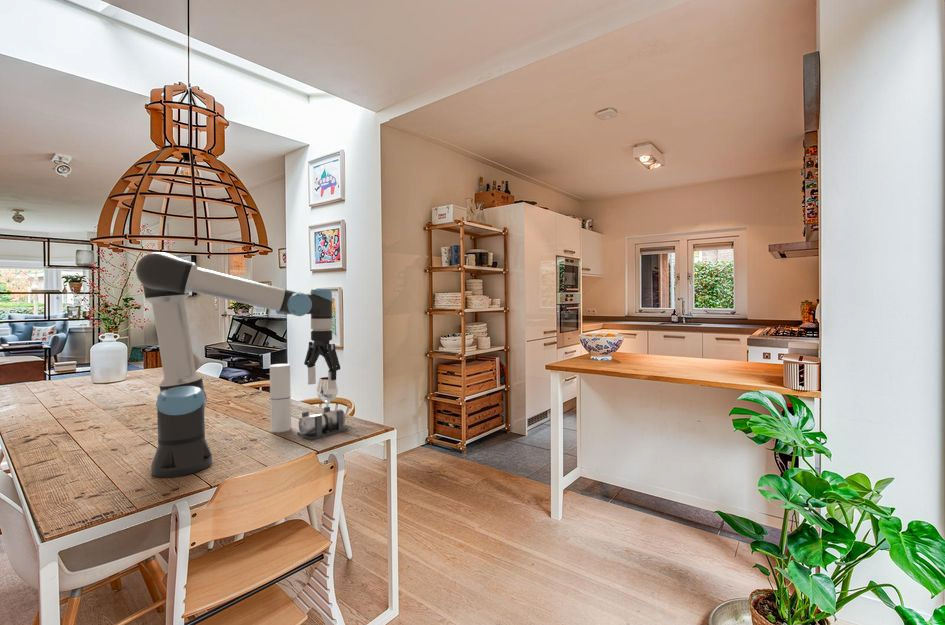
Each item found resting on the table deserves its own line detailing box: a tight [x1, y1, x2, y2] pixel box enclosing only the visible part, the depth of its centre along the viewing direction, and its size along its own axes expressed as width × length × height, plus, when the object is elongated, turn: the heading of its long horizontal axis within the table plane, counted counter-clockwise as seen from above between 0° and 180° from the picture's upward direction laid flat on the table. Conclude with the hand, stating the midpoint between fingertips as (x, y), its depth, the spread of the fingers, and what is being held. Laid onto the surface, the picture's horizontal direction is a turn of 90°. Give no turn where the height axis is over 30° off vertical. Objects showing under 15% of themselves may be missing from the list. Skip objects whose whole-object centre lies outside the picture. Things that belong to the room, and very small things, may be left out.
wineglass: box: [316, 376, 338, 407], centre depth 176 cm, size 8×8×18 cm
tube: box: [298, 408, 346, 434], centre depth 163 cm, size 16×6×6 cm, turn 141°
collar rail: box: [297, 406, 349, 441], centre depth 162 cm, size 15×10×8 cm, turn 141°
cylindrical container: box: [269, 363, 292, 433], centre depth 166 cm, size 7×7×25 cm
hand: (321, 386), depth 162 cm, fingers open, 13 cm apart
